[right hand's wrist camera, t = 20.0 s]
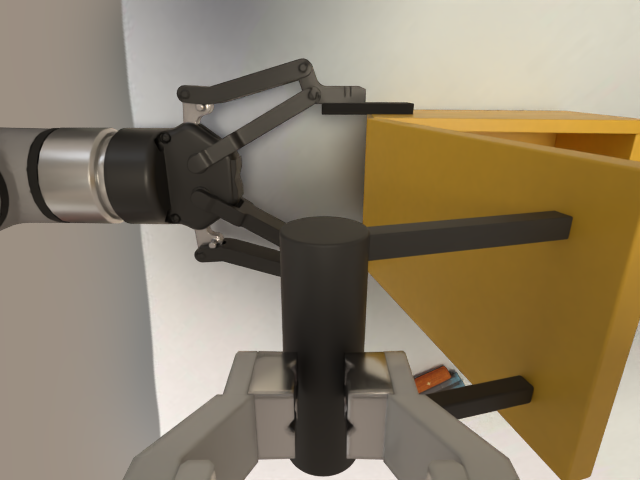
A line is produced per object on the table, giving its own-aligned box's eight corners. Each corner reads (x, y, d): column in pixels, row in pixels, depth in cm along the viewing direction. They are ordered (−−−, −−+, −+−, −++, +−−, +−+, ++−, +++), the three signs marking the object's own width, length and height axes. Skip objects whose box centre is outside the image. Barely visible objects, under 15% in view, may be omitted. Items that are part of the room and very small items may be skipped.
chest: (566, 110, 35) (654, 120, 25) (544, 220, 39) (613, 268, 29) (367, 109, 36) (373, 117, 26) (362, 216, 40) (367, 260, 30)
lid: (688, 169, 10) (299, 193, 7) (591, 477, 13) (304, 563, 11) (382, 118, 26) (229, 120, 23) (374, 262, 29) (240, 277, 27)
